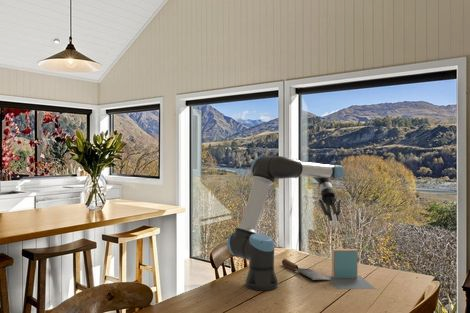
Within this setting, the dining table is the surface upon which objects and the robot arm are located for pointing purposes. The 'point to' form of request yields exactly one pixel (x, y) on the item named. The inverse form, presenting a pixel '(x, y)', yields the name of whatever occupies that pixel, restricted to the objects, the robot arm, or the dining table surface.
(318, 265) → the dining table surface
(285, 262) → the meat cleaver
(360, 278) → the mat
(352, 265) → the tile
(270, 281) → the robot arm
